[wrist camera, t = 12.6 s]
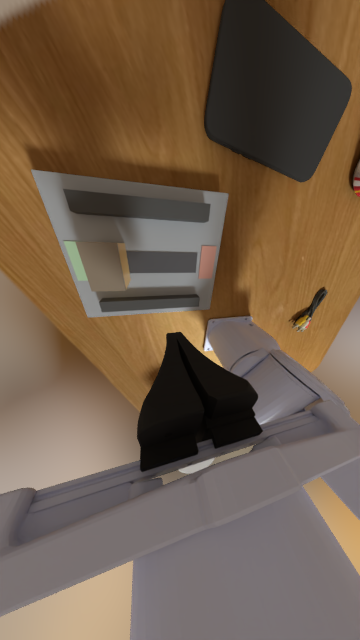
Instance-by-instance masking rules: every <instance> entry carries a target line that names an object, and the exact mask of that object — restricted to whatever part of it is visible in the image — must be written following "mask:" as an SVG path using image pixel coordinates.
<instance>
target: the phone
mask: <svg viewBox="0 0 360 640" xmlns="http://www.w3.org/2000/svg"><path fill="white" fill-rule="evenodd" d="M351 90H352V86H351V82H350V80H349V79H348V78H347V77H346V76H345V75H344V74H343V73H342V72H341V71H340V70H339V69H338V68H337V67H335V66H334V65H333V64H332V63H331V62H330V61H329V60H328V59H327V58H326V57H325V56H324V55H323V54H322V53H320V52H319V51H318V50H317V49H316V48H315V47H314V46H313V45H312V44H311V43H310V42H309V41H308V40H307V39H305V38H304V37H303V36H302V35H301V34H300V33H299V32H298V31H297V30H296V29H295V28H294V27H293V26H291V25H290V24H289V23H288V22H287V21H286V20H285V19H284V18H283V17H282V16H281V15H280V14H279V13H278V12H276V11H275V10H274V9H273V8H272V7H271V6H270V5H269V4H268V3H267V2H266V1H265V0H225V3H224V7H223V10H222V15H221V21H220V26H219V32H218V38H217V44H216V50H215V56H214V62H213V68H212V74H211V80H210V86H209V92H208V99H207V105H206V111H205V118H204V126H205V131H206V134H207V136H208V137H209V138H210V139H211V140H212V141H214V142H216V143H218V144H220V145H223V146H225V147H227V148H229V149H231V150H232V151H234V152H236V153H238V154H242V156H244V157H246V158H248V159H252V160H254V161H256V162H259V163H261V164H263V165H265V166H267V167H269V168H271V169H273V170H275V171H278V172H280V173H282V174H284V175H286V176H288V177H290V178H292V179H294V180H297V181H299V182H305V181H307V180H309V179H310V178H311V177H312V175H313V174H314V172H315V171H316V169H317V166H318V164H319V162H320V160H321V158H322V156H323V154H324V152H325V150H326V148H327V146H328V144H329V142H330V140H331V138H332V135H333V133H334V131H335V129H336V127H337V125H338V123H339V121H340V119H341V117H342V115H343V113H344V110H345V108H346V106H347V104H348V102H349V99H350V95H351Z"/></svg>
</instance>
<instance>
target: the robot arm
mask: <svg viewBox="0 0 360 640" xmlns="http://www.w3.org/2000/svg"><path fill="white" fill-rule="evenodd" d="M245 318H246V319H245ZM213 321H214V322H213ZM166 339H167V345H166V351H165V355H164V358H163V362H162V365H161V367H160V370H159V373H158V375H157V377H156V379H155V381H154V383H153V385H152V387H151V389H150V391H149V393H148V395H147V396H146V398H145V400H144V402H143V405H142V409H141V412H140V416H139V420H138V428H137V439H138V441H139V444H140V447H141V454H140V460H139V461H136V462H132V463H129V464H125V465H122V466H119V467H115V468H112V469H108V470H105V471H102V472H98V473H95V474H92V475H88V476H85V477H82V478H78V479H75V480H72V481H68V482H65V483H62V484H58V485H55V486H51V487H48V488H44V489H41V490H38V491H36V490H35V489H33V488H21V489H17V490H14V491H10V492H7V493H4V494H0V617H1V616H3V615H5V614H8V613H10V612H12V611H15V610H17V609H19V608H22V607H24V606H26V605H29V604H31V603H34V602H36V601H38V600H40V599H43V598H45V597H48V596H50V595H52V594H54V593H57V592H59V591H62V590H64V589H66V588H69V587H71V586H73V585H76V584H78V583H80V582H83V581H85V580H87V579H90V578H92V577H94V576H97V575H99V574H101V573H104V572H106V571H109V570H111V569H113V568H115V567H118V566H120V565H123V564H125V563H127V562H129V561H132V560H133V581H132V583H133V584H132V605H131V629H130V631H131V632H130V640H360V576H359V574H358V572H357V571H356V569H355V568H354V566H353V565H352V563H351V561H350V560H349V558H348V557H347V555H346V554H345V552H344V551H343V549H342V547H341V546H340V544H339V543H338V541H337V539H336V538H335V536H334V535H333V533H332V532H331V530H330V528H329V527H328V525H327V524H326V522H325V521H324V519H323V517H322V516H321V514H320V513H319V511H318V509H317V508H316V506H315V505H314V503H313V502H312V500H311V499H310V497H309V495H308V494H307V492H306V491H305V489H304V487H303V486H302V485H304V484H306V483H308V482H310V481H312V480H314V479H317V478H318V477H321V478H322V479H323V480H324V481H325V482H326V484H327V485H328V486H329V487H330V488H331V489H332V490H333V491H334V493H335V494H336V495H337V496H338V497H339V498H340V499H341V500H342V501H343V503H344V504H346V506H347V507H348V508H349V509H350V510H351V511H352V512H353V514H354V515H355V516H356V517H357V518H358V519H359V520H360V425H359V424H358V423H357V422H356V421H355V420H354V419H353V418H351V417H350V412H349V409H348V408H347V407H346V406H345V403H344V402H343V400H342V399H340V398H339V397H338V396H337V395H336V394H335V393H334V392H333V391H331V390H330V389H329V388H328V387H327V386H326V385H325V384H324V383H322V382H321V381H320V380H319V379H318V378H317V377H315V376H314V375H313V374H312V373H310V372H309V371H308V370H307V369H305V368H304V367H303V366H302V365H300V364H299V363H298V362H297V361H295V360H294V359H293V358H291V357H290V356H289V355H287V354H286V353H285V352H283V351H282V350H280V347H279V345H278V343H277V342H276V340H275V339H274V338H273V337H272V336H270V335H269V334H268V333H266V332H265V331H264V330H262V329H261V328H260V327H258V326H257V325H256V324H254V323H253V322H252V317H251V316H242V317H230V318H218V319H210V320H209V321H208V325H207V331H206V337H205V343H204V351H210V350H213V351H214V352H215V354H216V356H217V357H218V359H219V361H220V362H221V364H222V366H223V367H224V368H222V367H220V366H219V365H217V364H216V363H214V362H213V361H211V360H210V359H208V358H207V357H206V356H204V355H203V354H202V353H201V352H200V351H198V350H197V349H196V348H195V347H194V346H193V345H192V344H191V343H190V342H189V341H188V340H187V339H186V337H185V336H184V335H183V334H182V333H181V332H176V333H167V334H166ZM255 444H256V445H255ZM251 445H254V446H253V448H252V450H251V451H250V452H249V453H246V454H244V455H240V456H237V457H234V458H231V459H228V460H225V461H222V462H219V463H217V464H214V465H211V466H209V467H206V468H204V469H201V470H199V471H196V472H194V473H191V474H189V475H187V476H184V477H182V478H180V479H177V480H175V481H172V482H170V483H168V484H165V485H163V483H162V478H155V477H158V476H161V475H164V474H167V473H170V472H173V471H176V470H179V469H182V468H185V467H188V466H191V465H194V464H197V463H200V462H203V461H206V460H209V459H212V458H215V457H218V456H221V455H224V454H227V453H230V452H233V451H236V450H239V449H243V448H246V447H249V446H251ZM152 478H155V479H152Z"/></svg>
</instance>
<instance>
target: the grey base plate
mask: <svg viewBox="0 0 360 640" xmlns="http://www.w3.org/2000/svg"><path fill="white" fill-rule="evenodd" d="M31 171H32V174H33V177H34V179H35V182H36V184H37V187H38V190H39V192H40V195H41V197H42V200H43V202H44V205H45V208H46V210H47V213H48V215H49V218H50V221H51V223H52V226H53V228H54V231H55V233H56V236H57V239H58V241H59V244H60V246H61V249H62V252H63V254H64V257H65V259H66V262H67V264H68V267H69V270H70V272H71V275H72V277H73V280H74V283H75V285H76V288H77V290H78V293H79V295H80V298H81V301H82V303H83V306H84V308H85V311H86V314H87V316H88V317H101V316H116V315H132V314H147V313H162V312H177V311H192V310H207V309H210V304H211V298H212V292H213V286H214V280H215V274H216V268H217V262H218V256H219V249H220V243H221V237H222V231H223V225H224V219H225V213H226V207H227V201H228V195H229V194H228V193H219V192H211V191H203V190H195V189H187V188H178V187H170V186H162V185H154V184H146V183H137V182H129V181H121V180H113V179H105V178H96V177H88V176H80V175H72V174H64V173H55V172H47V171H39V170H31ZM63 189H70V190H80V191H89V192H99V193H109V194H119V195H129V196H138V197H148V198H158V199H168V200H178V201H187V202H197V203H207V204H211V206H210V214H209V221H208V222H205V223H198V222H183V221H169V220H155V219H141V218H127V217H113V216H99V215H85V214H76V213H74V212H71V211H70V209H69V206H68V203H67V200H66V197H65V194H64V190H63ZM75 242H105V243H125V247H126V253H127V259H128V265H129V272H130V278H131V281H130V283H129V285H128V287H127V289H126V291H97V292H92V291H91V288H90V285H89V282H88V279H87V276H86V273H85V270H84V267H83V264H82V261H81V258H80V255H79V252H78V249H77V246H76V243H75ZM189 294H197V295H198V296H199V297H200V301H199V307H183V308H167V309H150V310H134V311H117V312H102V311H101V308H100V305H99V301H100V300H101V299H102V298H116V297H141V296H165V295H189Z"/></svg>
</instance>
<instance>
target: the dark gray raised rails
mask: <svg viewBox="0 0 360 640" xmlns="http://www.w3.org/2000/svg"><path fill="white" fill-rule="evenodd" d="M63 190H64V194H65V197H66V200H67V203H68V206H69V209H70V211H71V212H74V213H76V214H85V215H99V216H113V217H127V218H141V219H155V220H169V221H183V222H198V223H205V222H208V221H209V214H210V206H211V204H207V203H197V202H187V201H178V200H168V199H158V198H148V197H138V196H129V195H119V194H109V193H99V192H89V191H80V190H70V189H63ZM199 301H200V297H199V296H198V295H197V294H189V295H165V296H141V297H116V298H102V299H101V300H100V301H99V305H100V308H101V311H102V312H117V311H134V310H150V309H167V308H183V307H199Z"/></svg>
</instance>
